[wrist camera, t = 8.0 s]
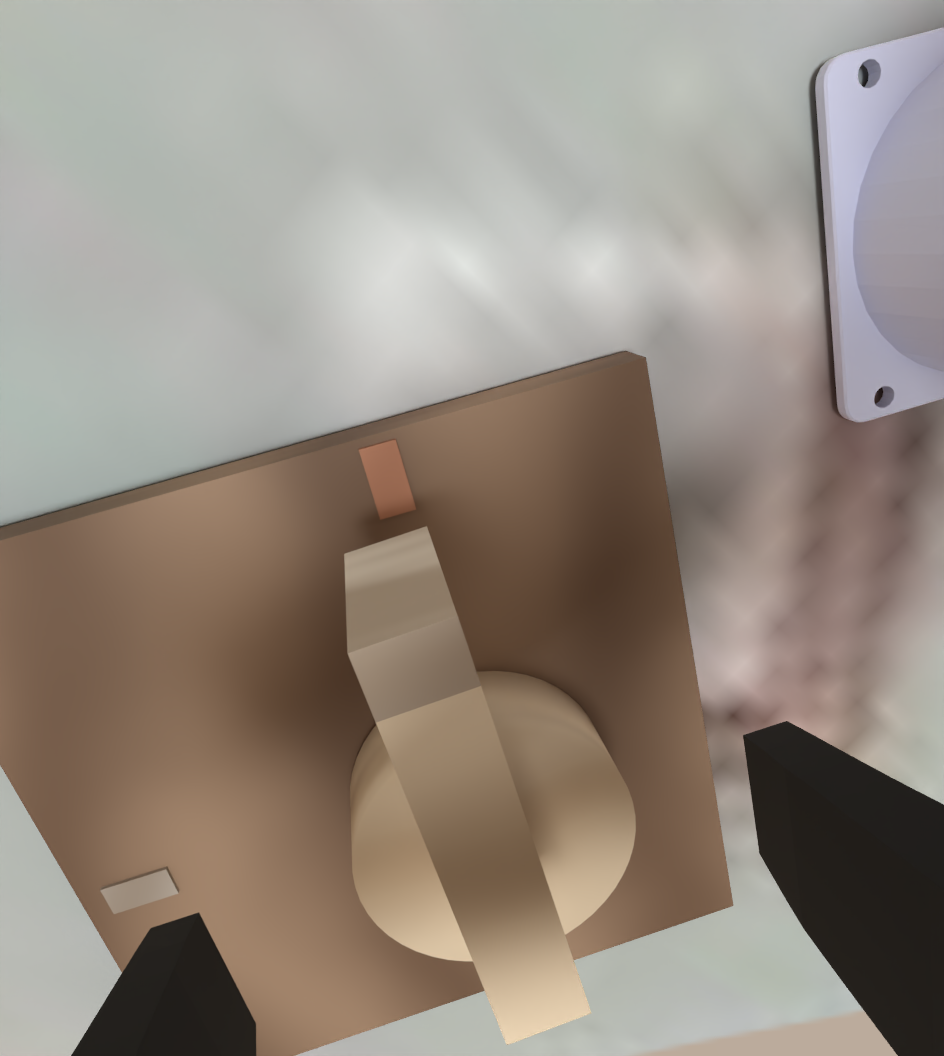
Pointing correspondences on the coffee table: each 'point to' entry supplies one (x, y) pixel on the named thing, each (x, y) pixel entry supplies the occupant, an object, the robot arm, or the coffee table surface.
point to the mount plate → (346, 680)
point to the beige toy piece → (475, 796)
